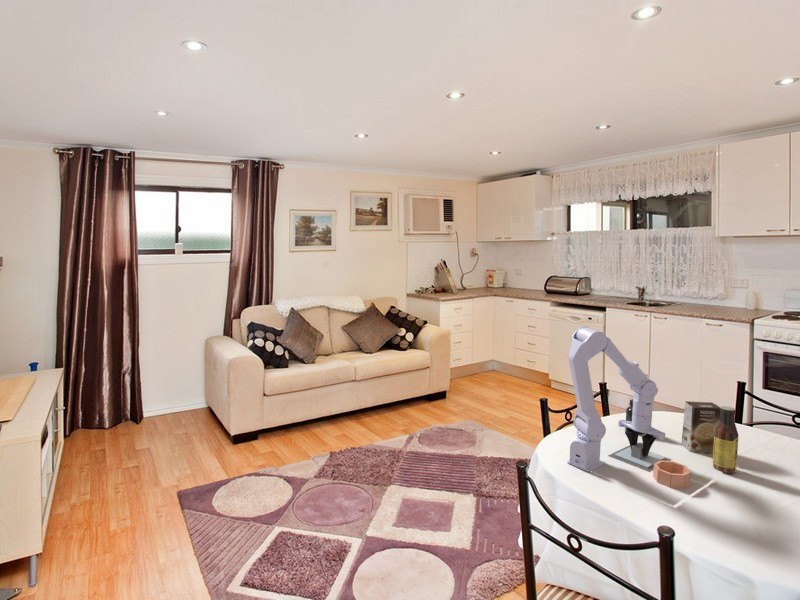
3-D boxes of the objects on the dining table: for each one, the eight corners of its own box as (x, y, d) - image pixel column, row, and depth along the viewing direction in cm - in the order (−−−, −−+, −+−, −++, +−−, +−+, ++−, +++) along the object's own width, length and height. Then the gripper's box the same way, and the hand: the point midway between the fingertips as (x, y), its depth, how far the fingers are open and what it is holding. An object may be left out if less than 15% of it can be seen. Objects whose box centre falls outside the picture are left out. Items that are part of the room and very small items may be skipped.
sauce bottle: (739, 475, 152) (745, 413, 149) (717, 473, 153) (722, 411, 150) (730, 465, 158) (735, 405, 155) (708, 463, 159) (713, 404, 157)
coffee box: (689, 453, 167) (693, 407, 165) (680, 445, 173) (684, 401, 171) (718, 454, 166) (722, 408, 164) (708, 446, 172) (712, 401, 170)
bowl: (679, 492, 142) (680, 478, 141) (648, 480, 149) (649, 466, 148) (694, 483, 147) (695, 469, 146) (663, 471, 154) (664, 458, 154)
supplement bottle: (648, 436, 181) (650, 404, 180) (629, 435, 181) (631, 404, 180) (640, 428, 188) (641, 398, 186) (621, 428, 188) (623, 398, 186)
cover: (647, 468, 155) (648, 456, 155) (614, 456, 164) (615, 444, 164) (664, 459, 162) (665, 447, 161) (632, 447, 170) (632, 436, 170)
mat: (649, 473, 153) (649, 471, 153) (607, 457, 164) (607, 455, 164) (671, 461, 161) (671, 459, 161) (630, 446, 173) (630, 444, 173)
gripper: (671, 417, 157) (668, 458, 159) (627, 404, 169) (625, 442, 171) (659, 422, 153) (657, 464, 155) (615, 409, 165) (613, 448, 167)
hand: (639, 453), depth 163 cm, fingers open, 3 cm apart
